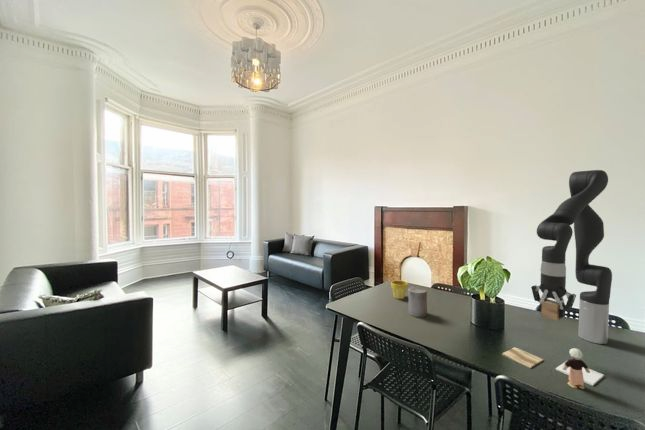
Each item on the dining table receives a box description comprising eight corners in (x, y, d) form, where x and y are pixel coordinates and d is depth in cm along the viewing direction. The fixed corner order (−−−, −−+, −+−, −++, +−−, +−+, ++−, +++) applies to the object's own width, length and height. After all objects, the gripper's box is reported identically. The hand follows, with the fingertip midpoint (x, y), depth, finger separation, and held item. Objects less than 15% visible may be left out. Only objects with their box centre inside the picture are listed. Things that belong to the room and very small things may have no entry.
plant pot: (409, 296, 177) (409, 281, 176) (405, 301, 168) (405, 285, 167) (393, 293, 182) (393, 279, 182) (388, 298, 173) (388, 283, 173)
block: (547, 313, 110) (547, 298, 110) (562, 318, 106) (563, 302, 106) (541, 316, 108) (541, 301, 108) (556, 321, 103) (557, 305, 103)
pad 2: (567, 361, 104) (567, 360, 104) (603, 376, 95) (603, 374, 95) (555, 369, 99) (555, 368, 99) (592, 385, 90) (592, 384, 90)
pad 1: (514, 348, 114) (514, 346, 114) (543, 360, 105) (543, 359, 105) (501, 354, 109) (501, 353, 109) (530, 368, 100) (530, 366, 100)
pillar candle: (424, 310, 154) (424, 284, 153) (429, 317, 144) (429, 290, 143) (406, 310, 154) (406, 284, 154) (410, 317, 145) (410, 290, 144)
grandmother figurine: (579, 381, 92) (581, 345, 92) (591, 389, 89) (592, 351, 88) (558, 382, 92) (559, 346, 92) (568, 390, 88) (570, 352, 88)
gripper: (581, 275, 101) (579, 319, 102) (536, 267, 114) (535, 307, 115) (572, 279, 98) (571, 324, 99) (527, 270, 110) (526, 311, 111)
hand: (551, 315), depth 107 cm, fingers closed on block, 5 cm apart
